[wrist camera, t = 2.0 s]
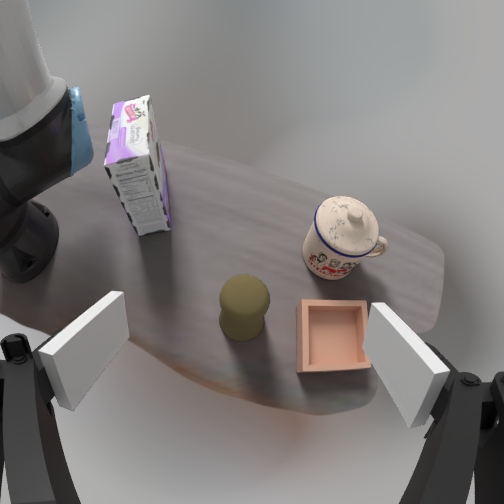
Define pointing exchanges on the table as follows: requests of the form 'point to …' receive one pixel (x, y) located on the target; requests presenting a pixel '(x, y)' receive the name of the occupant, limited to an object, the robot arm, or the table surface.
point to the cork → (243, 307)
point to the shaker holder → (331, 335)
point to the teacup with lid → (341, 238)
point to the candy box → (138, 165)
